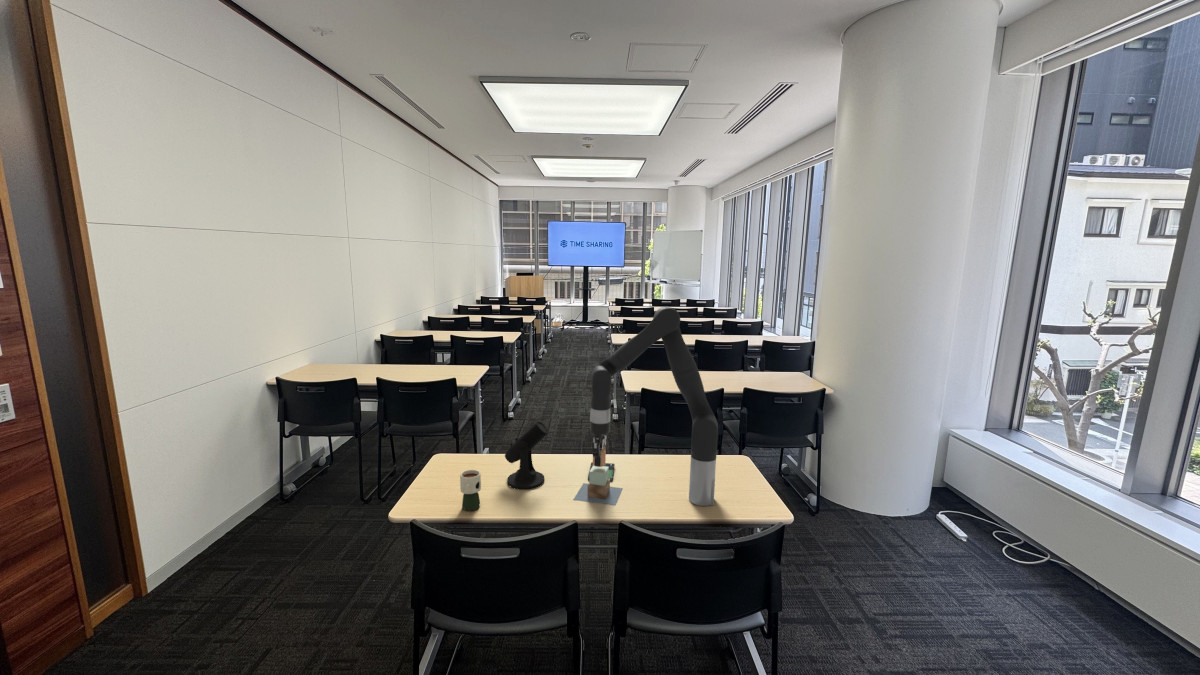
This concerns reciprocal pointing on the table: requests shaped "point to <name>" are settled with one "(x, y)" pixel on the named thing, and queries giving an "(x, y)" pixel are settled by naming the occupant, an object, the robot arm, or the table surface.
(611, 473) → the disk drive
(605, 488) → the walnut block
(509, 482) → the microphone
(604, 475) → the sage block
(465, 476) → the character mug
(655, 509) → the table surface
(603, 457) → the terracotta cylinder
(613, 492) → the slate mat
